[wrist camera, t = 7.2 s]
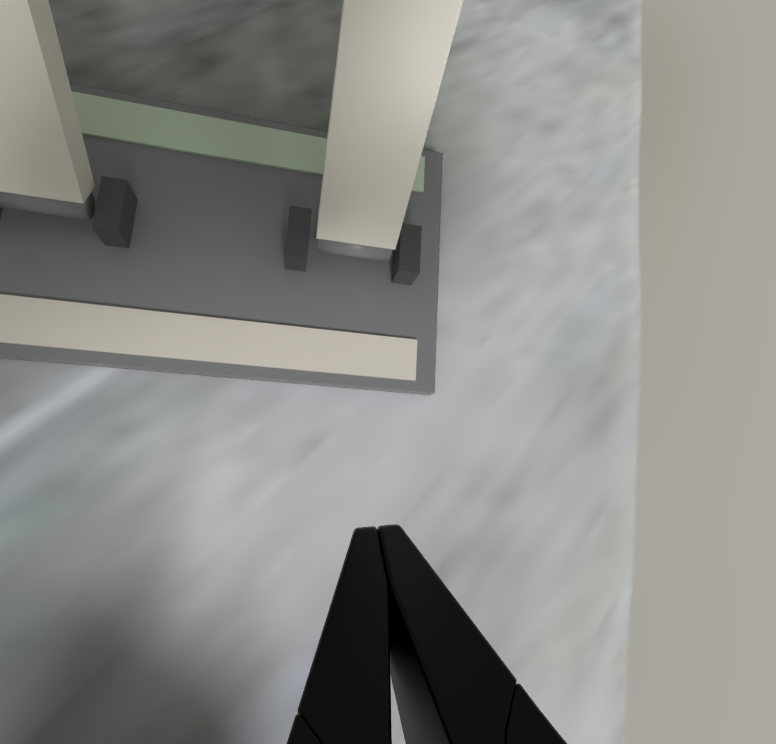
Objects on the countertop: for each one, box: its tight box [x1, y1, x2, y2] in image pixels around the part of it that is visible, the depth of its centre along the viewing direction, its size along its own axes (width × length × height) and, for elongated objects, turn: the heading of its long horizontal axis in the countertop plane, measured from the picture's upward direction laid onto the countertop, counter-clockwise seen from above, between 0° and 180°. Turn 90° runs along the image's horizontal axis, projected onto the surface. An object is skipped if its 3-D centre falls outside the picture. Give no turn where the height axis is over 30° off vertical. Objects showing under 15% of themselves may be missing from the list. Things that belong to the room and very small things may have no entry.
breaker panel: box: [0, 83, 443, 395], centre depth 22 cm, size 13×22×2 cm, turn 87°
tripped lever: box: [316, 0, 463, 262], centre depth 18 cm, size 2×4×14 cm, turn 87°
